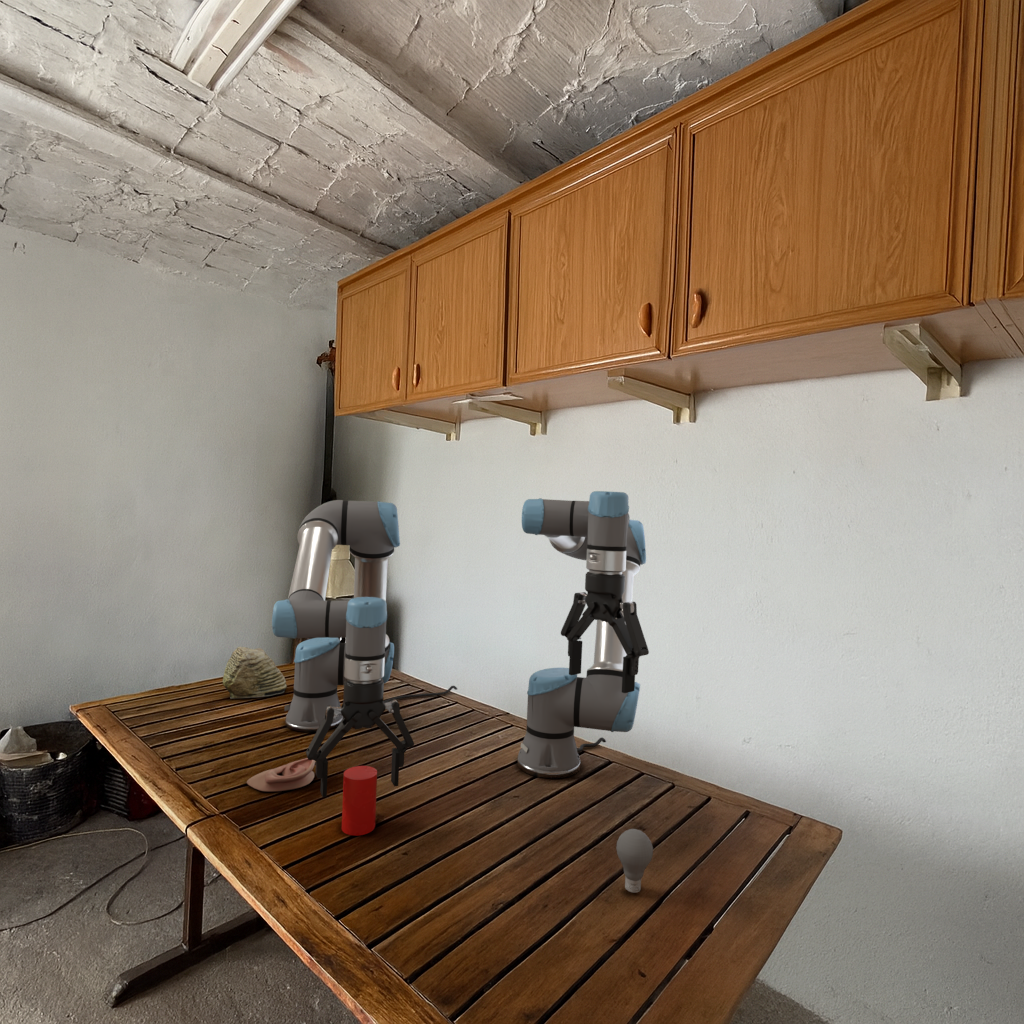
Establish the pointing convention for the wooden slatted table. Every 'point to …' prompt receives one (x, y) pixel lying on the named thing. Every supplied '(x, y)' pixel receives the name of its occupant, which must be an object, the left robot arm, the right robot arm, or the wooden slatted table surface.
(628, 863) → the light bulb
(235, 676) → the fossil
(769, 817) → the wooden slatted table surface
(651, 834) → the wooden slatted table surface
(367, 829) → the tin
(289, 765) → the anatomical model
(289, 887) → the wooden slatted table surface
